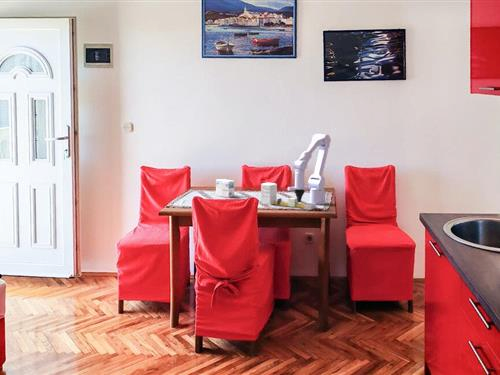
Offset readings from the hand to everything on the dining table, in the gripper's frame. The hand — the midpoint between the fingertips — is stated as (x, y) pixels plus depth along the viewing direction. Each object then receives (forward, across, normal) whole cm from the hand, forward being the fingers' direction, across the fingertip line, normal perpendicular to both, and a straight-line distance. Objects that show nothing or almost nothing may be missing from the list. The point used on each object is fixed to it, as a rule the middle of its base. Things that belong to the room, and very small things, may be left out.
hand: (298, 201), depth 388 cm
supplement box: (+3, +15, -14) cm, 21 cm away
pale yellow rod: (+3, +3, -3) cm, 5 cm away
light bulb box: (+3, +36, -44) cm, 57 cm away
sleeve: (+3, +3, -3) cm, 5 cm away
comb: (+3, -5, +5) cm, 8 cm away
